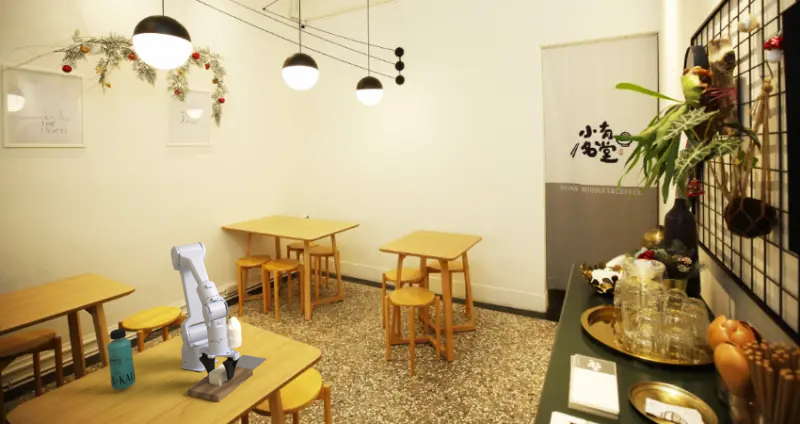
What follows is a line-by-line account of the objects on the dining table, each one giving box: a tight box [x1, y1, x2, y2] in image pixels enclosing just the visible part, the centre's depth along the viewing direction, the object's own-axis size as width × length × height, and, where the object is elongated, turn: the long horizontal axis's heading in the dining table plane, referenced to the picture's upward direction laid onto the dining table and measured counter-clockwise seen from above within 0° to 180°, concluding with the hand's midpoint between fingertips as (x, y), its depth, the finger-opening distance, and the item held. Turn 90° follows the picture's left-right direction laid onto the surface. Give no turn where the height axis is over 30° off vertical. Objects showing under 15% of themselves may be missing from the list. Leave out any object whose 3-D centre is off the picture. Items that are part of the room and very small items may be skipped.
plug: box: [209, 363, 228, 386], centre depth 134 cm, size 4×6×6 cm, turn 162°
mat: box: [236, 354, 267, 370], centre depth 148 cm, size 10×8×1 cm
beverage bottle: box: [107, 328, 136, 391], centre depth 132 cm, size 6×7×20 cm
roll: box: [226, 316, 243, 350], centre depth 161 cm, size 6×12×6 cm
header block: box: [186, 366, 254, 403], centre depth 134 cm, size 12×16×2 cm
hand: (221, 376), depth 134 cm, fingers open, 7 cm apart
